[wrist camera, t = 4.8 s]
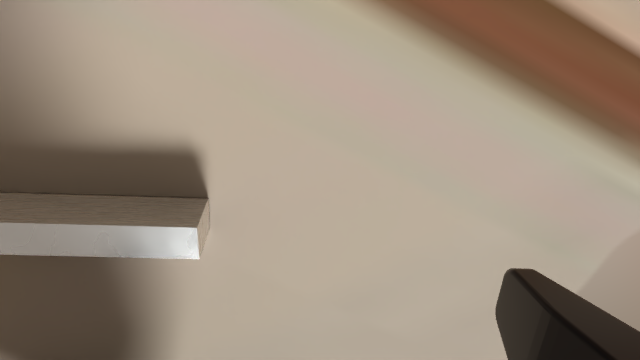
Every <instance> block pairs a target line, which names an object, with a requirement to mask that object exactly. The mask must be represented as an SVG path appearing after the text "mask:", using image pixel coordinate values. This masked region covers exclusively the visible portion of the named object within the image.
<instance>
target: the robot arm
mask: <svg viewBox="0 0 640 360" xmlns="http://www.w3.org/2000/svg"><path fill="white" fill-rule="evenodd" d="M496 320H497V324H498V328H499V331H500V334H501V338H502V341H503V344H504V348H505V351H506V354H507V358H508V360H640V332H639V331H637V330H636V329H634V328H632V327H631V326H629V325H627V324H626V323H624V322H622V321H620V320H619V319H617V318H615V317H614V316H612V315H610V314H609V313H607V312H605V311H603V310H602V309H600V308H598V307H597V306H595V305H593V304H592V303H590V302H588V301H586V300H585V299H583V298H581V297H580V296H578V295H576V294H575V293H573V292H571V291H569V290H568V289H566V288H564V287H563V286H561V285H559V284H557V283H556V282H554V281H552V280H551V279H549V278H547V277H546V276H544V275H542V274H540V273H539V272H537V271H535V270H533V269H516V268H511V269H509V270H507V271H506V273H505V275H504V278H503V282H502V285H501V289H500V293H499V297H498V300H497V304H496Z"/></svg>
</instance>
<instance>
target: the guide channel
mask: <svg viewBox="0 0 640 360" xmlns="http://www.w3.org/2000/svg"><path fill="white" fill-rule="evenodd" d="M209 229H210V220H209V202H208V199H204V198H170V197H136V196H102V195H67V194H33V193H0V255H40V256H84V257H127V258H171V259H199V258H200V255H201V252H202V250H203V247H204V244H205V241H206V238H207V235H208V232H209Z"/></svg>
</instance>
